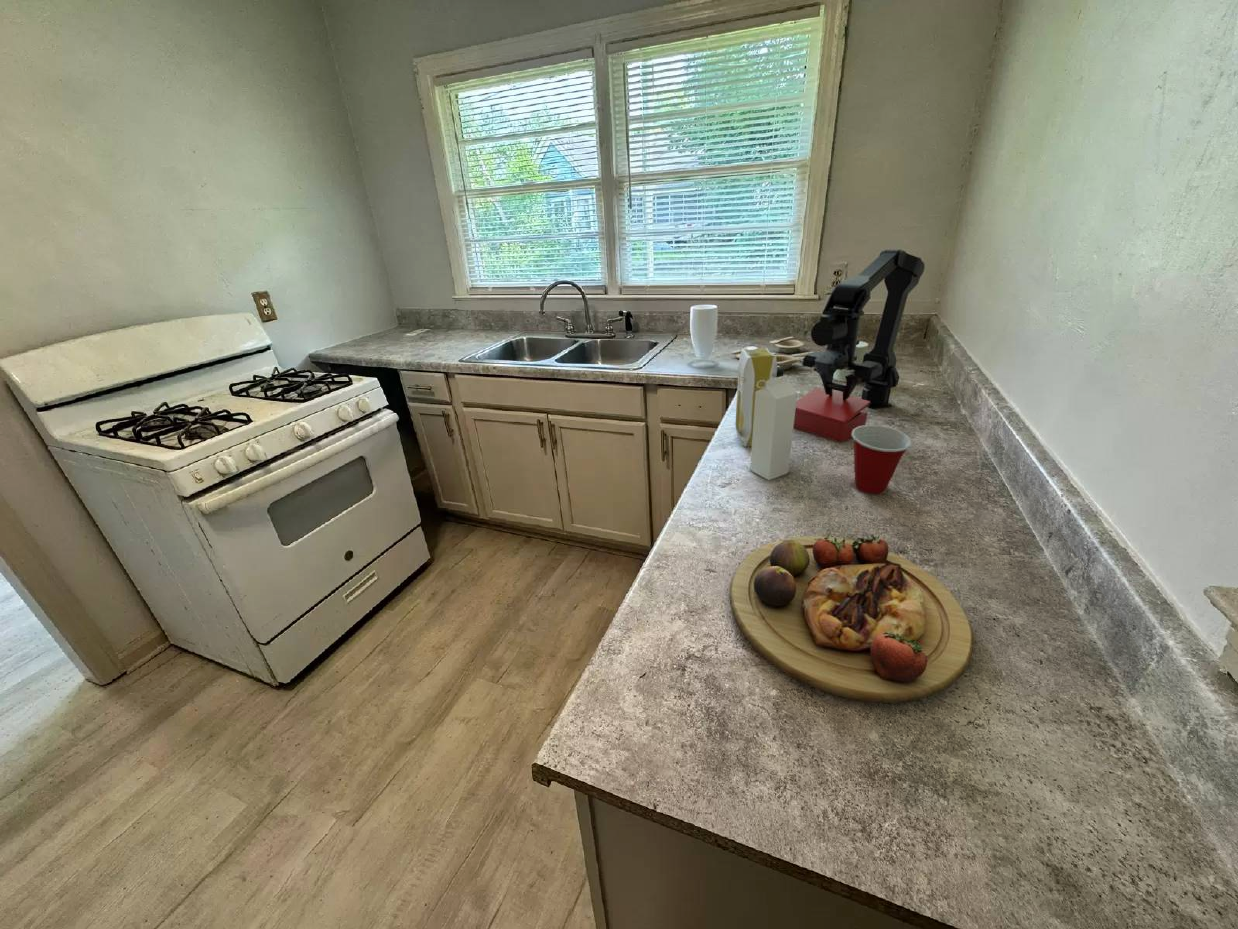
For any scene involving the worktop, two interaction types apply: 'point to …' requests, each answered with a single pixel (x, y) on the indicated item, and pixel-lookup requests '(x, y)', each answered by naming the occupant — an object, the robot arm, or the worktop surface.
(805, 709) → the worktop surface
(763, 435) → the milk
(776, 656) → the wooden plate
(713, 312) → the cup
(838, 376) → the can
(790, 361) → the tableware set
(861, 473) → the plastic cup
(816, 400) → the red box lid
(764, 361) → the juice carton
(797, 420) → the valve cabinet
